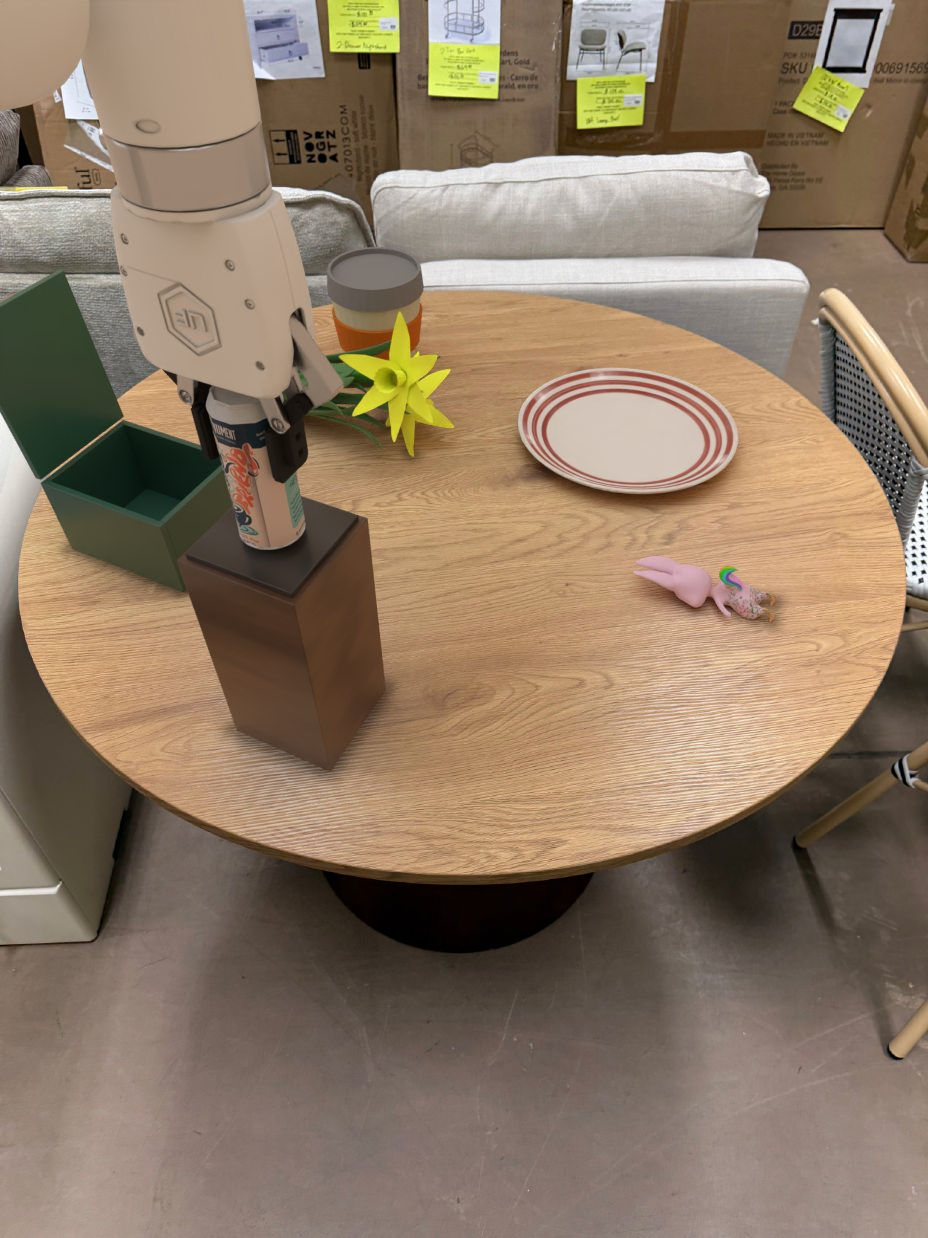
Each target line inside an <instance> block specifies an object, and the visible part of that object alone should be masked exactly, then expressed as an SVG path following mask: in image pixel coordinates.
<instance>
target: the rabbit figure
mask: <svg viewBox="0 0 928 1238" xmlns="http://www.w3.org/2000/svg"><path fill="white" fill-rule="evenodd" d="M634 565H635V566H639V567H644V568H646V570H645V569H644V570H633V571H632V574H633V575H635V576H637V577H640V578H644V579H646V580H648V581H650V582H653V583H655V584H657V585H658V586H660V587H662V588H664V589H666V590H669V591H671V592H673V593H674V595H675V596H676V598H678V599H679V600H681V601H682V602H684V603H686V604H687V605H689V606H691V607H693V608H699V607H701V606H703V605H704V604H705V601H706V600H707V598H709V597H710V598H712V600H713V601H714V602H715V605H717V608H718V609H719V610H720V611H721V613H722V614H723V615H724V616H725V617H726V618H728V619H731V618H732V613H731V612H730V611H729V610H728V609H727V608H726V607H725V606H729V607H730V608H732V610H733V611H735V612H736V613H737V614H738V615H740V616H741V617H743V618H745V619H747V620H755V619H757V618H759V617H760V616H761V615H764V614H768V615H769V618H768V620H767V621H769V622H768V623H769V624H771V623H772V622H773V621H774V619H775V617H776V614H778V613H779V612H778V611H776V612H774V613H772V612H771V611H770V610H769V608H766V607H762V606H760V604H761V602H762V601H763V600H764V599H766V598H769V600H770V602H769V605H770V608H772V606H773V605H774V604H775V602H776V601H777V598H778V597H779V595H775V596H772V595H771V593H770V592H769V591H760V590H757V589H755V587H754V586H752V585H750V584H744V583H743V582H742V580H741V579H740V578H739V576H737V575H736V574H734V572H735V573H736V572H739V569H738V568H736V567H734V566H732V565H724V566H722V567H721V568H720V569H719V571H718V577H719V580H720V581H718V582H717V584H716V585H713V580H712V577H711V575H710V573H709V572H708V571H707V570H706V569H704V568H702V567H700V566H698V565H694V564H687V563H686V564H682V563H679V562H677V561H676V560H675V559H672V558H671V557H667V556H663V555H649V556H645V557H643V558H640V559H638V560H636V561H635V562H634ZM726 586H730V587H733V588H727V587H726Z"/></svg>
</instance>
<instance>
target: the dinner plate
mask: <svg viewBox="0 0 928 1238" xmlns="http://www.w3.org/2000/svg"><path fill="white" fill-rule="evenodd" d="M737 427H738V426H737V424H736V422H735V420H734V418H733V416H732V414H731V413H730V412H729V410H728V409H727V408H726V407H725V406H724V405H723V403H721V402H720V401H719V400H718V399H717V398H715V397H714V396H713V395H711V394H710V393H708V392H707V391H706V390H704V389H702V388H700V387H699V386H696V385H695V384H692V383H691V382H689V381H688V382H687V381H686V380H683V379H680V378H678V377H675V376H671V375H668V374H665V373H661V372H655V371H650V370H645V369H638V368H629V367H599V368H589V369H584V370H577V371H574V372H570V373H567V374H563V375H561V376H557V377H556V378H554V379H551V380H549V381H546V382H545V383H544V384H542V385H540V386H539V387H537V388H536V389H535V390H533V392H531V393H530V394H529V395H528V396H527V397H526V398H525V400H524V401H523V403H522V404H521V407H520V409H519V411H518V415H517V429H518V434H519V437H520V439H521V441H522V443H523V445H524V446H525V448H526V449H527V451H528V452H529V453H530V454H531V455H532V456H533V457H534V458H535V459H536V460H537V461H538V462H540V463H541V464H542V465H544V466H545V467H546V468H547V469H548V470H550V471H552V472H553V473H555V474H557V475H559V476H561V477H563V478H565V479H566V480H569V481H571V482H574V483H577V484H579V485H582V486H585V487H589V488H592V489H596V490H599V491H605V492H610V493H619V494H628V495H629V494H630V495H652V494H653V495H654V494H663V493H670V492H671V493H672V492H676V491H681V490H684V489H689V488H691V487H696V486H697V485H699V484H702V483H704V482H706V481H709V480H710V479H712V478H714V477H715V476H717V475H718V474H720V473H721V471H723V470H724V469H726V467H727V466H728V465H729V464H730V463H731V461H732V460H733V458H734V456H735V455H736V452H737V450H738V447H739V440H740V439H739V430H738V428H737Z"/></svg>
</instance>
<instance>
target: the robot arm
mask: <svg viewBox="0 0 928 1238" xmlns="http://www.w3.org/2000/svg"><path fill="white" fill-rule="evenodd" d="M244 3H245V2H244V0H0V112H2V111H3V112H4V111H10V110H14V109H18V108H19V109H20V108H23V107H27V106H30V105H33V104H35V103H37V102H39V101H42V100H44V99H46V98H48V97H50V96H52V95H53V94H54V93H55V92H56V91H57V90H59V89H60V88H61V87H62V86H64V85H65V84H66V83H67V81H68V80H69V79H70V77H71V76H72V75H73V73H74V72H75V71H76V69H77V68H78V66H79V63H80V61H81V63H82V67H83V70H84V75H85V78H86V81H87V84H88V88H89V91H90V94H91V98H92V101H93V105H94V108H95V112H96V115H97V118H98V121H99V129H98V139H99V142H100V145H101V146H102V147H103V149H105V150H106V151H107V153H108V157H109V160H110V163H111V168H112V170H113V175H114V177H115V181H116V185H115V186H113V188H112V189H111V190H110V215H111V217H110V218H111V225H112V235H113V241H114V249H115V255H116V259H117V265H118V269H119V274H120V280H121V284H122V288H123V292H124V296H125V301H126V305H127V308H128V312H129V316H130V320H131V323H132V327H133V331H132V338H133V340H134V341H135V343H137V344H138V346H139V348H140V351H141V353H142V355H143V357H144V358H145V359H146V360H147V361H148V362H149V363H150V364H152V365H153V366H155V367H156V368H159V369H160V370H161V371H162V372H164V373H165V374H166V376H167V377H168V378H169V379H170V380H171V381H172V382H173V383H174V384H175V385H176V387H177V389H176V390H177V391H176V392H177V396H178V398H179V399H180V401H181V402H182V403H184V404H185V405H187V406H191V407H190V412H191V415H192V420H193V423H194V426H195V431H196V434H197V438H198V441H199V445H201V449H202V452H203V456H204V457H205V458H208V459H211V460H214V459H216V458H218V457H219V452H218V448H217V445H216V441H215V437H214V433H213V429H212V425H211V422H210V418H209V414H208V411H207V409H206V401H207V398H208V395H209V392H210V391H209V389H210V388H211V386H212V385H213V386H217V387H220V388H223V389H227V390H230V391H233V392H237V393H240V394H244V395H247V396H251V397H255V398H259V401H260V403H261V405H262V408H263V410H264V412H265V415H266V417H267V419H268V422H269V424H270V426H269V427H268V428H267V429H266V430H265V432H264V438H265V443H266V447H267V452H268V457H269V462H270V467H271V472H272V477H273V478H274V480H275V481H276V482H279V483H282V484H283V483H285V482H286V481H287V480H288V479H289V478H290V477H291V476H292V475H293V474H294V473H295V472H298V470H299V469H300V468H302V467H303V466H304V464H305V463H306V462H307V460H308V458H309V447H308V441H307V434H306V429H305V422H304V417H305V415H306V414H307V413H308V412H309V411H314V410H313V409H314V408H317V407H319V406H321V405H323V404H325V403H326V402H328V401H330V400H332V399H333V398H334V397H335V396H336V395H337V394H338V393H339V392H341V391H342V390H344V389H343V388H344V382H343V381H342V379H341V377H340V376H339V375H338V373H337V372H336V370H335V369H334V368H333V366H332V365H331V363H330V362H329V361H328V359H327V358H326V356H325V355H326V354H324V352H323V351H322V349H321V348H320V347H319V345H318V342H317V341H318V340H317V333H316V332H317V331H316V323H315V318H314V311H313V306H312V300H311V296H310V295H311V294H310V291H309V285H308V280H307V276H306V273H305V267H304V263H303V260H302V255H301V253H300V249H299V245H298V242H297V237H296V233H295V231H294V228H293V224H292V222H291V219H290V216H289V213H288V210H287V206H286V204H285V201H284V198H283V195H282V193H281V192H280V191H277V190H275V189H273V184H272V178H271V172H270V165H269V158H268V153H267V144H266V139H265V132H264V126H263V121H262V120H263V119H262V113H261V107H260V101H259V92H258V86H257V81H256V75H255V74H256V73H255V67H254V61H253V55H252V48H251V42H250V36H249V30H248V22H247V16H246V10H245V4H244ZM296 367H297V368H298V369H299V371H300V372H301V374H302V375H303V376H304V378H305V379H306V381H307V385H306V386H305V387H303V384H302V381H301V379H300V376H299V374H298V371H297V369H296ZM283 391H284V392H285V395H286V397H287V400H288V402H287V403H286V404H285V405H284V406H283V403H282V401H281V398H280V396H279V395H280V394H281V392H283Z"/></svg>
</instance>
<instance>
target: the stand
mask: <svg viewBox="0 0 928 1238" xmlns="http://www.w3.org/2000/svg"><path fill="white" fill-rule="evenodd" d="M301 500H302V506H303V512H304V517H305V523H306V525H305V530H304V532H303V534H302V535H301V537H300V538H299V539H298V540H296V541H295V542H293V543H292V544H290V545H288V546H286V547H283V548H280V549H274V550H261V549H256V548H254V547H251V546H249V545H247V544H246V543H245V542H244V541H243V540H242V539H241V537H240V534H239V529H238V525H237V521H236V517H235V514H234V510H233V506H232V507H231V508H230V509H229V510H228V511H227V512H226V513H225V514H224V515H223V516H222V517H221V518H220V519H219V520H218V521H217V522H216V523H215V524H214V525H213V526H212V527H211V528H210V529H209V530H208V531H207V532H206V533H205V534H204V535H203V536H202V537H201V538H200V539H198V540H197V541H196V542H195V543H194V544H193V545H192V546H191V547H190V548H189V549H188V550H187V551H186V552H185V553H184V554H183V555H182V556H181V557H180V558H179V559H178V560H177V563H178V566H179V569H180V571H181V574H182V577H183V580H184V583H185V586H186V588H187V590H186V591H187V595H188V597H189V600H190V603H191V605H192V608H193V611H194V614H195V616H196V619H197V622H198V626H199V628H200V631H201V633H202V636H203V639H204V642H205V644H206V647H207V650H208V653H209V656H210V659H211V661H212V665H213V667H214V670H215V673H216V676H217V679H218V681H219V684H220V687H221V691H222V693H223V695H224V698H225V701H226V704H227V706H228V709H229V712H230V715H231V718H232V721H233V724H234V727H235V729H236V731H237V732H239V733H241V734H243V735H245V736H249V737H250V738H253V739H255V740H257V741H260V742H262V743H264V744H266V745H269V746H271V747H274V748H275V749H277V750H280V751H282V752H285V753H287V754H289V755H291V756H294V757H296V758H298V759H300V760H302V761H305V762H307V763H310V764H311V765H314V766H315V767H318V768H321V769H323V770H325V771H328V772H332V770H333V769H334V767H335V766H336V764H338V762H339V760H340V759H341V757H342V755H343V754H344V752H345V751H346V750H347V748H348V746H350V744H351V742H352V741H353V739H354V738H355V736H356V735H357V733H358V732H359V730H360V729H361V727H362V726H363V724H364V723H365V721H366V720H367V719H368V717H369V716H370V715H371V713H372V711H373V710H374V708H375V707H376V706H377V704H378V702H379V701H380V699H381V698H382V696H383V695H384V693H385V692H386V690H387V688H386V678H385V669H384V658H383V650H382V640H381V639H382V638H381V631H380V622H379V621H380V620H379V611H378V604H377V603H378V602H377V592H376V584H375V583H376V582H375V574H374V573H375V572H374V564H373V555H372V554H373V553H372V545H371V536H370V526H369V525H370V524H369V518H368V517H365V516H362V515H360V514H357V513H353V512H350V511H348V510H344V509H341V508H338V507H335V506H333V505H329V504H326V503H323V502H320V501H318V500H314V499H311V498H309V497H305V496H303V495H301Z"/></svg>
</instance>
